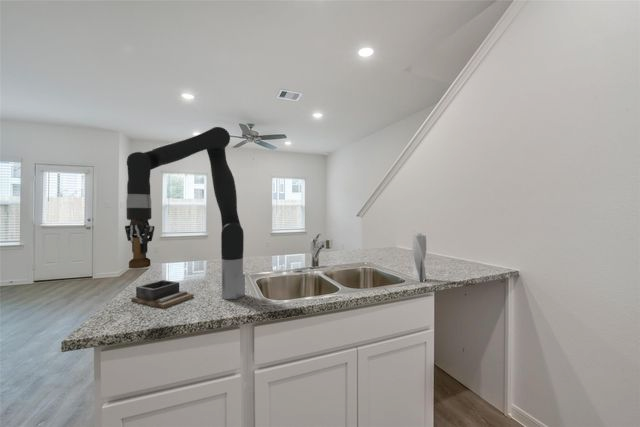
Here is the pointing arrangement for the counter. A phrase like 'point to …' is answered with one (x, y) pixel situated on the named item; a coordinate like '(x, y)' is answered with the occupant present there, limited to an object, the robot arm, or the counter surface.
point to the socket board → (160, 294)
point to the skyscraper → (419, 256)
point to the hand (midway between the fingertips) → (139, 252)
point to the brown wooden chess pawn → (138, 254)
